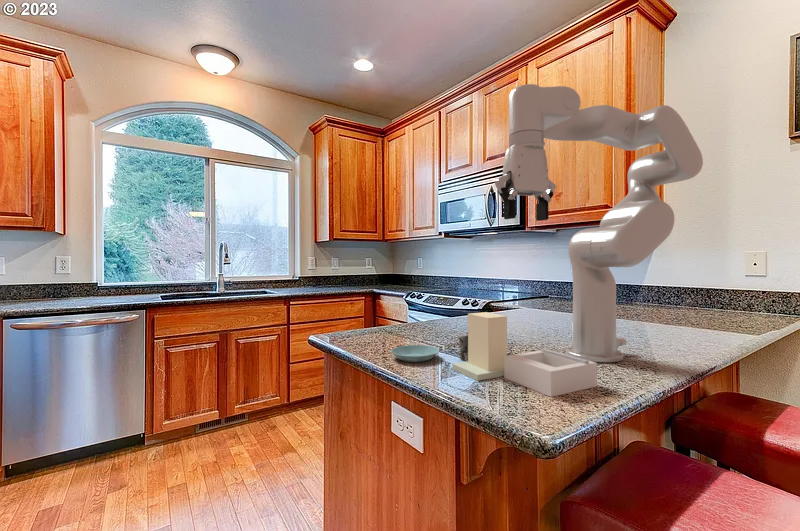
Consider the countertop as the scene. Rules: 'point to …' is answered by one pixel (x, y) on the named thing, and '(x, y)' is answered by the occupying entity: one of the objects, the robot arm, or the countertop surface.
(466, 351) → the foil
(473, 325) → the cream rectangular block
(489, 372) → the pad
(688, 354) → the countertop surface
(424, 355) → the saucer
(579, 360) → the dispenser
